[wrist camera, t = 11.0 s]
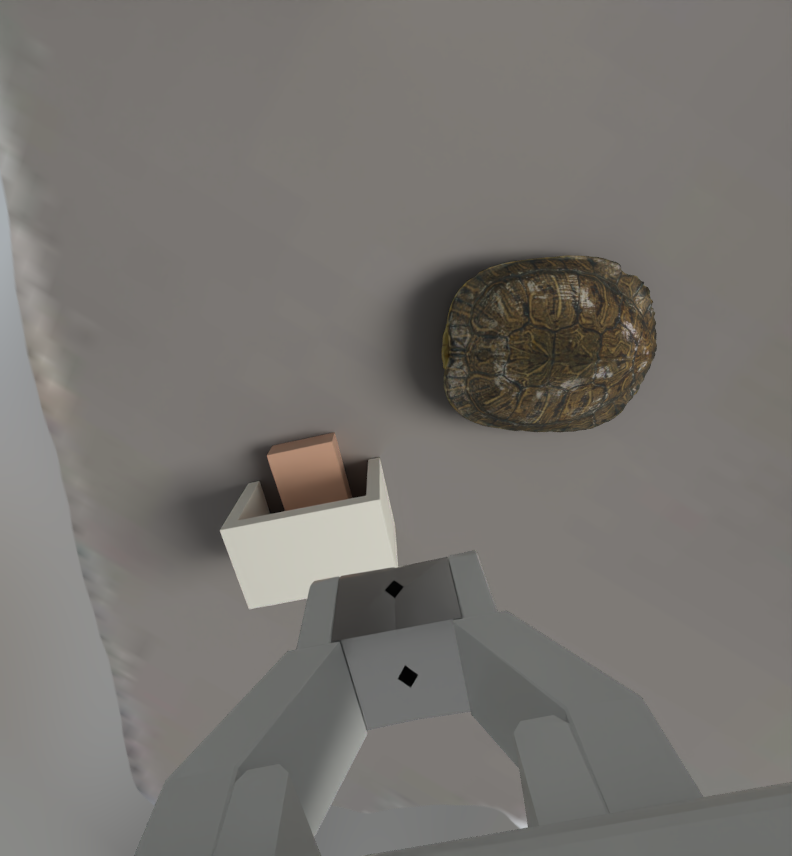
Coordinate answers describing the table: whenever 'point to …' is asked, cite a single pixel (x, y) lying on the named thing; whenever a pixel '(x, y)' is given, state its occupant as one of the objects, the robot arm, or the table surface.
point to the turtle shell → (548, 344)
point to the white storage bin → (308, 541)
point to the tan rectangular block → (309, 472)
